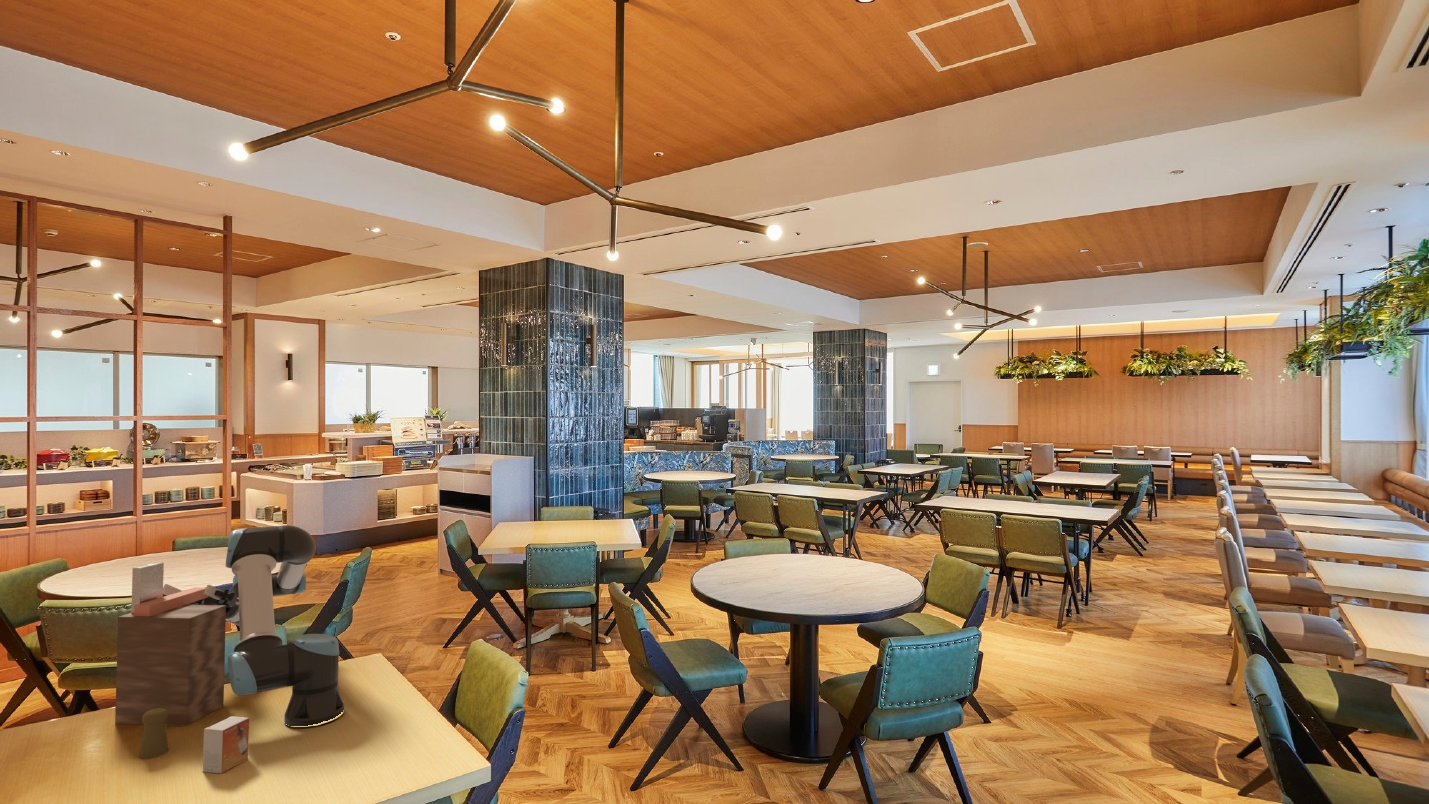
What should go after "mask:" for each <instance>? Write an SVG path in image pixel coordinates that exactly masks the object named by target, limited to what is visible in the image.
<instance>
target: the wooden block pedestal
mask: <svg viewBox="0 0 1429 804" xmlns="http://www.w3.org/2000/svg"><path fill="white" fill-rule="evenodd" d="M226 622H227V621H226V605H190V604H186V605H183V606H180V607H177V608H174V609H170V610H167V611H164V612H161V613H158V614H155V615H152V616H134V613H131V612H129V613H126V614H123V615H120V616H118V618H117V641H116V642H117V643H116V644H117V645H116V646H117V647H116V648H117V650H116V679H115V682H116V683H115V708H114V709H115V710H114V711H115V713H114V714H115V715H114V724H115V725H143V726H145V725H144V724H143V722H142V717H143V715H144V714H145V713H146V712H147V711H149V710H152V709H157V708H163V709H166V711H167V713H168V716H167V719H166V720H165V726H185V727H187V726H188V724H189V725H191V724H192V723H194V722H197V721H198V720H199V719H201V717H202V718H204V717H205V716H208V715H209V714H211V713H213V712H215V711H216V710H215V709H217V710H218V709H220V708H221V707H220V706H222V707H224V706H223V705H224V704H225V703H224V702H225V701H224V699H225V698H224V697H225V693H224V692H225V668H226V666H225V665H226V661H225V660H226V654H225V653H226ZM219 707H220V708H219ZM214 710H215V711H214ZM212 711H213V712H212ZM210 712H211V713H210ZM203 716H204V717H203ZM197 719H198V720H197ZM193 721H194V722H193Z"/></svg>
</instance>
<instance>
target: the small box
mask: <svg viewBox="0 0 1429 804" xmlns="http://www.w3.org/2000/svg"><path fill="white" fill-rule="evenodd" d="M249 731H250V717H242V716H233V715H230V716H229V717H228V718H225V719H223V720H221V721H219V722H217V723H214V724H212V725H210V726H207V727H206V728H204V729H203V751H202V752H203V753H202V772H203V773H211V774H213V773H215V774H223V773H225V772H227V771H228V770H231V769H232V768H234V767H236V766H239V764H241V763H243V761H244V762H245V761H248V759H249V734H250V733H249Z"/></svg>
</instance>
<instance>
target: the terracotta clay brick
mask: <svg viewBox="0 0 1429 804" xmlns="http://www.w3.org/2000/svg"><path fill="white" fill-rule="evenodd" d="M205 590H206V587H196V586H195V587H191V588H189V589H185V590H182V591H181V592H178V593H175V594H171V595H168V596H167V595H165V596H164V595H163V597H161V598H158V599H154V600H151V601H148V602H144V603H141V604H138V605H134V616H152V615H155V614H158V613H161V612H164V611H167V610H170V609H174V608H177V607H180V606H183V605H190V604H189V603H192V602H195V601H198V600H201V599H203V600H205V598H207V597H208V595H206V594H204V592H205Z"/></svg>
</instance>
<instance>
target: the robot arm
mask: <svg viewBox="0 0 1429 804" xmlns="http://www.w3.org/2000/svg"><path fill="white" fill-rule="evenodd" d="M316 550H317V545H316V542H315V540H314V537H313V536H312V535H311V534H310V533H309V532H308V531H306V530H305V529H304V528H301V527H299V526H295V525H289V524H288V525H275V526H274V525H273V526H261V527H245V528H244V527H243V528H237V529H233V530H232V531H231V532H230V534H229V538H228V543H227V550H226V558H225V568H228V569H231V572H232V574H234V576H233V578H232V589H231V590H232V591H231V592H229V591H230V590H229V589H223V590H221V589H220V588H217V587H215V586H213V585H211V584H207V585H206V587H205V588H206V590H205V592H204V594H206V595H208V597H207V598H204V599H201V600H198V601H195V602H192V603H189V604H188V605H226V622H227V624H231V623H232V624H234V625H236V626H237V627H239V642H238V643H237V644H235V646H234V648H233V652H231V653H229V654H228V657H227V667H228V677H229V682H230V683H229V684H230V687H231V691H232V692H233V693H234V694H235V695H236V696H245V695H256V694H258V693H264V692H268V691H274V690H278V689H284V688H289V687H291V696H290V698H289V702H288V705H287V707H286V709H285V713H284V718H283V719H284V720H283V721H284V722H285V723H284V722H283V723H284V725H285V724H287V725H289V726H308V725H313V724H318V723H321V722H323V721H328V720H330V719H333V718H335V717H336V716H338V715H339V714H341V712H343V710H344V711H345V703H344V700H343V697H342V694H341V691H340V688H339V662H340V661H339V659H340V657H339V655H340V649H339V648H340V646H339V640H338V639H337V637H335V636H332V635H331V634H325V633H308V634H307V633H306V634H301V635H297V636H295V637H294V638H293V640H292V643H287V644H283V640H282V637H280V636H279V635H277V634H276V623H275V622H276V620H275V605H274V597H279V596H280V597H281V596H288V595H297V594H301V593H304V592H305V591H306V588H307V576H306V573H305V569H306V567H307V565H308V562H310V561H311V560H312V559H313V557H314V555H315V554H316ZM278 563H279V564H280V567H279V570H278V573H277V574H272V571H274V570H275V568H276V566H277V564H278ZM181 591H183V590H181V589H179V588H177V587H174V586H172V585H170V584H168V583H165V584H163V595H165V596H168V595H171V594H175V593H178V592H181Z"/></svg>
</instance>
